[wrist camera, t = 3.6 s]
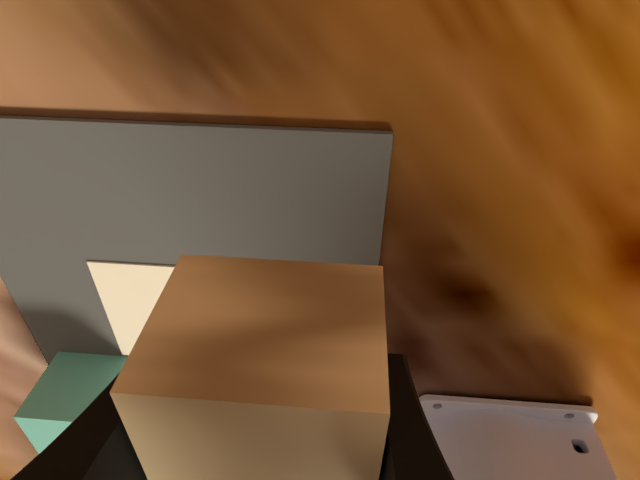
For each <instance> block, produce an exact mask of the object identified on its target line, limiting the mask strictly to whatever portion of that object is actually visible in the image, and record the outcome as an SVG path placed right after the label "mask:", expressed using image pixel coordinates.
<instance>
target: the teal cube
mask: <svg viewBox="0 0 640 480" xmlns="http://www.w3.org/2000/svg"><path fill="white" fill-rule="evenodd" d="M127 358H128V356H114V355H100V354H86V353H72V352H57V354H56V355H55V357H54V358H53V360H52V361H51V363H50V364H49V366H48V367H47V369H46V370H45V371H44V373H43V374H42V376H41V377H40V379H39V380H38V382H37V383H36V385H35V386H34V388H33V389H32V391H31V392H30V393H29V395H28V396H27V398H26V399H25V401H24V402H23V404H22V405H21V407H20V408H19V410H18V411H17V413H16V414H15V415H14V419H15V420H16V422H17V423H18V425H19V426H20V427H21V429H22V430H23V432H24V433H25V435H26V436H27V438H28V439H29V441H30V442H31V443H32V445H33V446H34V448H35V449H36V451H37V452H38V454H40V453H41V452H42V451H43V450H44V449H45V448H46V447H47V446H48V445H49V444H50V443H51V442H52V441H53V440H55V439H56V438H57V437H58V436H59V435H60V434H61V433H62V432H63V431H64V430H65V429H66V428H67V427H68V426H69V425H70V424H71V423H72V422H73V421H74V420H75V419H76V418H77V417H78V416H79V415H80V414H81V413H82V412H83V411H84V410H85V409H86V408H87V407H88V406H89V405H90V404H91V403H92V401H93V400H94V399H95V398H96V397H97V396H98V395H99V394H100V393H101V392H102V391H103V390H104V389H105V388H106V387H107V386H108V385H109V383H110V382H111V381H112V380H113V379H114V378H115V377H116V376H117V375H118V374H119V372H120V371H121V369H122V367H123V365H124V364H125V362H126V360H127Z"/></svg>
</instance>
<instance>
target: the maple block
mask: <svg viewBox="0 0 640 480" xmlns="http://www.w3.org/2000/svg"><path fill="white" fill-rule="evenodd" d="M109 393H110V395H111V397H112V400H113V402H114V404H115V406H116V409H117V411H118V413H119V415H120V418H121V420H122V422H123V425H124V427H125V429H126V431H127V434H128V436H129V438H130V440H131V443H132V445H133V447H134V449H135V452H136V454H137V456H138V459H139V461H140V463H141V465H142V468H143V470H144V472H145V474H146V477H147V479H148V480H379V475H380V469H381V464H382V458H383V452H384V447H385V441H386V436H387V430H388V424H389V419H390V398H389V378H388V357H387V337H386V317H385V296H384V276H383V266H375V265H358V264H341V263H324V262H307V261H289V260H272V259H255V258H238V257H221V256H204V255H187V254H181V256H180V258H179V260H178V262H177V264H176V266H175V268H174V270H173V271H172V273H171V275H170V277H169V279H168V281H167V283H166V285H165V287H164V289H163V291H162V293H161V294H160V296H159V298H158V300H157V302H156V304H155V306H154V308H153V310H152V312H151V314H150V316H149V317H148V319H147V321H146V323H145V325H144V327H143V329H142V331H141V333H140V335H139V337H138V339H137V341H136V342H135V344H134V346H133V348H132V350H131V352H130V354H129V356H128V358H127V360H126V362H125V364H124V365H123V367H122V369H121V371H120V373H119V375H118V377H117V379H116V381H115V383H114V385H113V387H112V389H111V390H110V392H109Z"/></svg>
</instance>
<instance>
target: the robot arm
mask: <svg viewBox="0 0 640 480" xmlns="http://www.w3.org/2000/svg"><path fill="white" fill-rule="evenodd" d="M387 357H388V378H389V398H390V419H389V424H388V430H387V436H386V441H385V447H384V452H383V458H382V464H381V469H380V475H379V480H617V477H616V475H615V473H614V470H613V468H612V466H611V464H610V461H609V459H608V457H607V454H606V452H605V450H604V448H603V445H602V443H601V441H600V438H599V436H598V434H597V432H596V429H595V427H594V425H593V424H594V422H595V421H596V419H597V417H598V414H597V412H596V410H595V408H593V407H590V406H580V405H566V404H553V403H539V402H526V401H512V400H498V399H485V398H471V397H458V396H444V395H430V394H426V395H422V396H421V397H419V398H418V395H417V392H416V389H415V386H414V384H413V380H412V377H411V374H410V371H409V367H408V363H407V359H406V357H405V356H403V355H401V354H387ZM119 373H120V372H119ZM118 375H119V374H118ZM118 375H117V376H116V377H115V378H114V379H113V380H112V381H111V382H110V383H109V385H108V386H107V387H106V388H105V389H104V390H103V391H102V392H101V393H100V394H99V395H98V396H97V397H96V398H95V399H94V400H93V401H92V403H91V404H90V405H89V406H88V407H87V408H86V409H85V410H84V411H83V412H82V413H81V414H80V415H79V416H78V417H77V418H76V419H75V420H74V421H73V422H72V423H71V424H70V425H69V426H68V427H67V428H66V429H65V430H64V431H63V432H62V433H61V434H60V435H59V436H58V437H57V438H56V439H55V440H53V441H52V442H51V443H50V444H49V445H48V446H47V447H46V448H45V449H44V450H43V451H42V452H41V453H40V454H39V455H38V456H36V457H35V458H34V459H33V460H32V461H31V462H30V463H29V464H28V465H26V466H25V467H24V468H23V469H22V470H21V471H20V472H18V473H17V474H16V475H15V476H14V477H13V478H12V479H10V480H148V479H147V477H146V474H145V472H144V470H143V468H142V465H141V463H140V461H139V459H138V456H137V454H136V452H135V449H134V447H133V445H132V443H131V440H130V438H129V436H128V434H127V431H126V429H125V427H124V425H123V422H122V420H121V418H120V415H119V413H118V411H117V409H116V406H115V404H114V402H113V400H112V397H111V395H110V393H109V392H110V390H111V389H112V387H113V385H114V383H115V381H116V379H117V377H118Z"/></svg>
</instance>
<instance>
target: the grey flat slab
mask: <svg viewBox="0 0 640 480" xmlns="http://www.w3.org/2000/svg"><path fill="white" fill-rule="evenodd" d="M392 143H393V131H380V130H355V129H331V128H306V127H281V126H257V125H232V124H208V123H183V122H158V121H134V120H109V119H84V118H60V117H35V116H10V115H0V276H1V278H2V280H3V282H4V284H5V285H6V287H7V289H8V291H9V293H10V295H11V297H12V298H13V300H14V302H15V304H16V306H17V308H18V309H19V311H20V313H21V315H22V317H23V319H24V320H25V322H26V324H27V326H28V328H29V330H30V332H31V333H32V335H33V337H34V339H35V341H36V343H37V344H38V346H39V348H40V350H41V352H42V354H43V355H44V357H45V359H46V361H47V363H48V365H49V364H50V363H51V361H52V360H53V358H54V357H55V355H56V354H57V352H72V353H86V354H100V355H114V356H129V354H130V352H131V350H132V348H133V346H134V344H135V342H136V341H137V339H138V337H139V335H140V333H141V331H142V329H143V327H144V325H145V323H146V321H147V319H148V317H149V316H150V314H151V312H152V310H153V308H154V306H155V304H156V302H157V300H158V298H159V296H160V294H161V293H162V291H163V289H164V287H165V285H166V283H167V281H168V279H169V277H170V275H171V273H172V271H173V270H174V268H175V266H176V264H177V262H178V260H179V258H180V256H181V254H187V255H204V256H221V257H238V258H255V259H272V260H289V261H307V262H324V263H341V264H358V265H375V266H379V259H380V250H381V241H382V232H383V223H384V214H385V205H386V196H387V188H388V179H389V170H390V161H391V152H392Z"/></svg>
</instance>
